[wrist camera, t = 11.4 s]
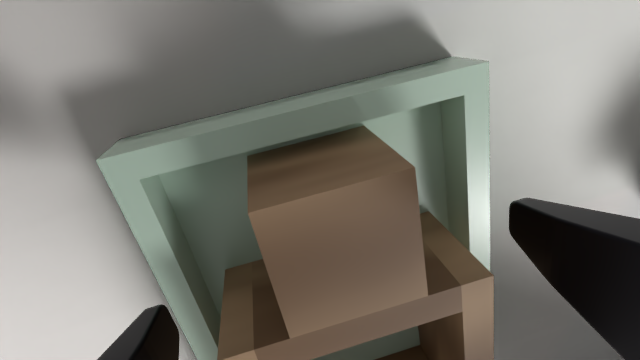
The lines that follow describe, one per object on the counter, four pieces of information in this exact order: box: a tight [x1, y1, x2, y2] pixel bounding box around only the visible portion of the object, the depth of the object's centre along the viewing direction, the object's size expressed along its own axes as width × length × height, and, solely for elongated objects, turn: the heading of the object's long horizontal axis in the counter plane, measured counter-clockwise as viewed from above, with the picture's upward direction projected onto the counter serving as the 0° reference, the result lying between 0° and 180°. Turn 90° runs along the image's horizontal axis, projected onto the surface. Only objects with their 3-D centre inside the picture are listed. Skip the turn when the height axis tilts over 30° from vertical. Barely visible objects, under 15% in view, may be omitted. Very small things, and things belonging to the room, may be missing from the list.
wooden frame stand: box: [217, 126, 494, 360], centre depth 12 cm, size 12×8×4 cm, turn 12°
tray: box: [96, 57, 490, 360], centre depth 14 cm, size 15×11×2 cm
